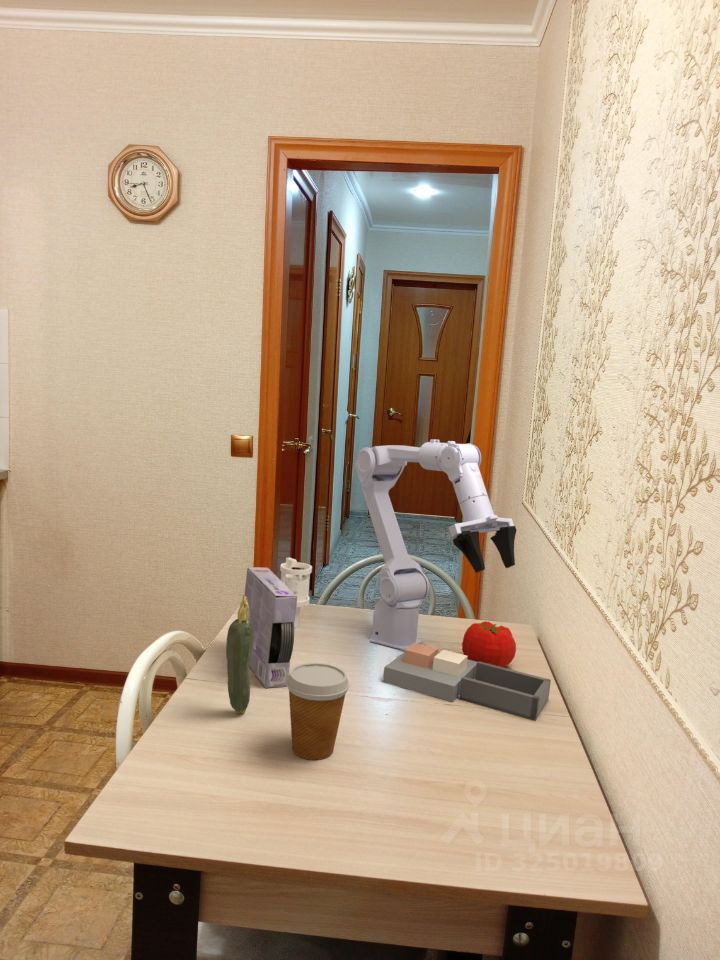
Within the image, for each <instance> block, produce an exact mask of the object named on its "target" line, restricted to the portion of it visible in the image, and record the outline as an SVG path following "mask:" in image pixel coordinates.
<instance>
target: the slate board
mask: <svg viewBox="0 0 720 960" xmlns="http://www.w3.org/2000/svg"><path fill="white" fill-rule="evenodd" d="M440 652H441V651H438V653H440ZM476 665H477V662H476V661H472V660H468V659H467V667H466V669H465V670H464V671H463V672H462V673H461V674H460V675H459V676H458V677H457V676H453V675H449V674H446V673H442V672H438V671H435V670H433V664H432V665H431V666H430V667H429V668H428V669H427V668H424V667H420V666H416V665H412V664H409V663H405V662H404V652H402V653H400V655H398V656H397V657H396V658H394V659H393V660H392V661H390V662H389V663H388V664H386V665H384V666H383V667H384V669H383V677H382V683H385V684H388V683H389V684H388V685H392V686H397V687H398V688H402V689H405V690H410V691H413V692H417V693H420V694H424V695H428V696H430V697H433V698H437V699H441V700H445V701H448V702H451V703H453V702H455V701H456V699H457V698H458V697H459V695H460V686H461V678H462V677H463V676H464V677H467V678H471V679H475V675H476Z"/></svg>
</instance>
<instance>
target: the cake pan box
mask: <svg viewBox="0 0 720 960" xmlns="http://www.w3.org/2000/svg"><path fill="white" fill-rule="evenodd" d="M245 576H246V578H245V586H244V594H243V595H244V596H246V597H247V600H248V605H249V611H250V617H249V619H247V620H248V621H249V622H250V623H251V624H252V626H253V629H254V642H253V647H252V652H251V657H250V663H249V669H250V670H251V671H252V672H253V674H255V676H256V677H257V678H258V680H259V681H260V683H261V684H262V685H263V687H264V688H265V689H273V688H274V689H275V688H285V687H288V686H287V684H286V679H287V677H288V676H289V674H290V667H291V666H290V665H291V658H292V655H293V652H294V651H293V650H294V643H295V628H294V622H295V616H296V606H297V596H296V595H295V594H294V593H293V592H292V591H291V590H290V589H289V588H288V587H287V586H286V585H285V584H284V583H283V582H282V581H281V578H279V577H278V576H277V575H276V574H275V573H274V572H273V571H272V570H271V569H270V568H269V567H260V566H258V567H255V566H254V567H252V566H251V567H250V566H249V567H247V569H246V575H245Z"/></svg>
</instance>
